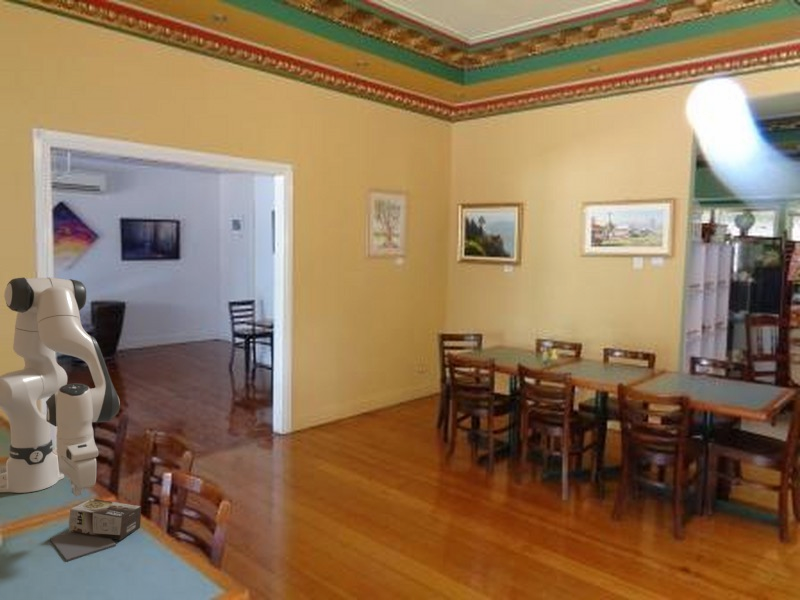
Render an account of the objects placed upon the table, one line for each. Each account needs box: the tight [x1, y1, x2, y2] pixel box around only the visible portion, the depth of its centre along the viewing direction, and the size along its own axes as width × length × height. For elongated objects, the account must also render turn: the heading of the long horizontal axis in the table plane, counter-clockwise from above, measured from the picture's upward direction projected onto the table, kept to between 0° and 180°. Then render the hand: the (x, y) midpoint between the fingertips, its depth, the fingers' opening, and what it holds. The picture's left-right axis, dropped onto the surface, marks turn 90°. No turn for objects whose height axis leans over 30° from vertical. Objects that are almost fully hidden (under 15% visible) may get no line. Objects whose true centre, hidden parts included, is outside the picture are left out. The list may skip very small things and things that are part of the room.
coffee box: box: [68, 498, 142, 541], centre depth 167 cm, size 9×6×16 cm
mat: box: [49, 531, 117, 562], centre depth 161 cm, size 15×12×1 cm
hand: (76, 494), depth 163 cm, fingers closed
